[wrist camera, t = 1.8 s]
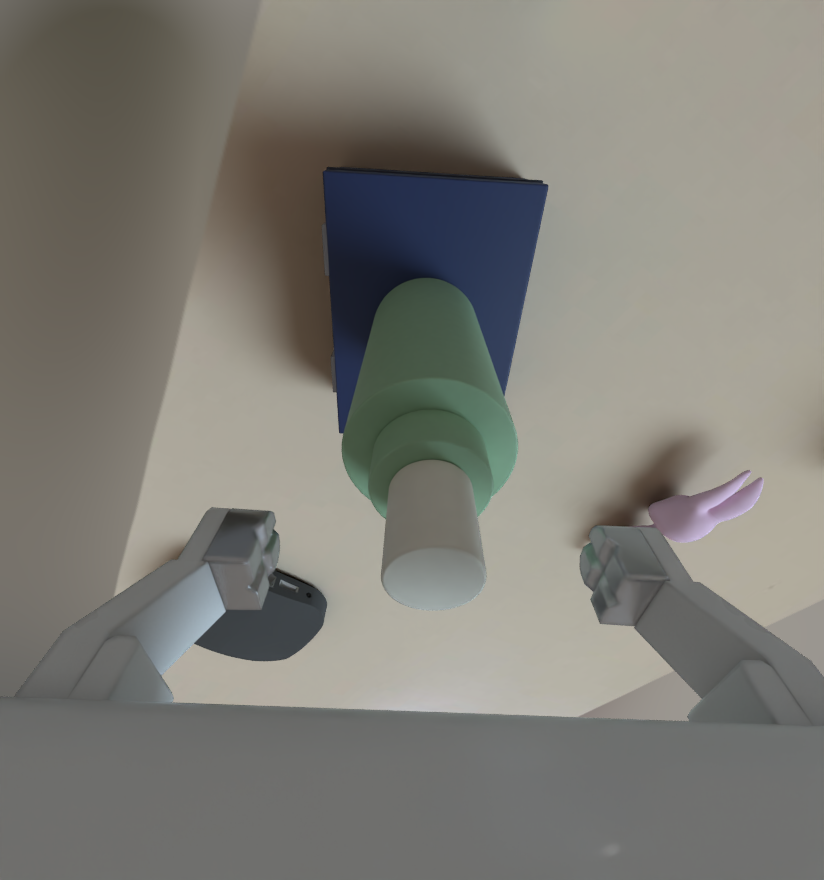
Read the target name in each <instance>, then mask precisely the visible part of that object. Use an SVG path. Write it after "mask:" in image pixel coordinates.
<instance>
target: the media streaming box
mask: <svg viewBox="0 0 824 880" xmlns="http://www.w3.org/2000/svg"><path fill="white" fill-rule="evenodd" d="M268 581H269V589H268V592H267V595H266V598H265V601H264V603H263V606H262V609H261V610H226V612H225V613H224V614H223V615H222V616H221V617H220V618H219V619H218V620H217V621H216V622H215V623H214V624H213V625H212V626H211V627H210V628H209V629H208V630H207V631H206V632H205V633H204V634H203V635H202V636H201V637H200V638H199V639H198V640H197V641H196V642H195V643H194V644H196V645H199V646H201V647H203V648H206V649H209V650H211V651H214V652H217V653H220V654H224V655H227V656H231V657H235V658H240V659H245V660H252V661H277V660H283V659H287V658H289V657H290V656H292V655H294V654H295V653H297V652H298V651H299V650H301V649H302V648H303V647H304V646H305V645H306V644H307V643H308V642H309V641H310V640H311V639H312V638H313V637H314V636H315V635H316V634H317V633H318V631H319V630H320V629H321V628H322V626H323V622H324V617H325V612H326V607H327V602H326V599H325V597H324V596H323V595H322V593H320V592H319V591H318V590H317V589H315V588H313V587H311V586H309V585H306V584H304V583H302V582H300V581H298V580H295V579H293V578H291V577H288V576H286V575H284V574H281V573H279V572H276V571H274V572H273V573H271V574H270V575H269V576H268Z"/></svg>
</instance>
